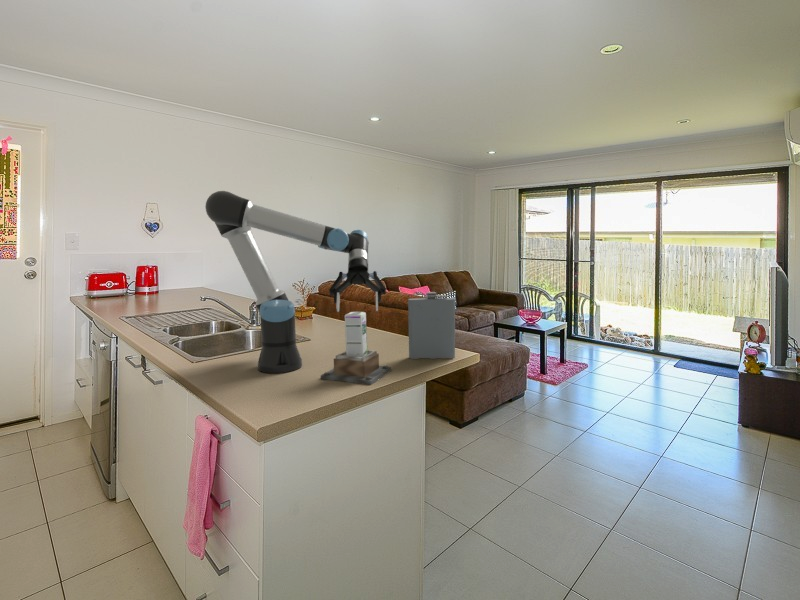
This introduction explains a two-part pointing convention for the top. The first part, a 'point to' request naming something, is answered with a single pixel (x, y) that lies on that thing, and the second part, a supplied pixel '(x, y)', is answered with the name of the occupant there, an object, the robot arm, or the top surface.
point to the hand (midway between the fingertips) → (357, 309)
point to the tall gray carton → (431, 327)
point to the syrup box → (356, 334)
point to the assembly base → (357, 379)
